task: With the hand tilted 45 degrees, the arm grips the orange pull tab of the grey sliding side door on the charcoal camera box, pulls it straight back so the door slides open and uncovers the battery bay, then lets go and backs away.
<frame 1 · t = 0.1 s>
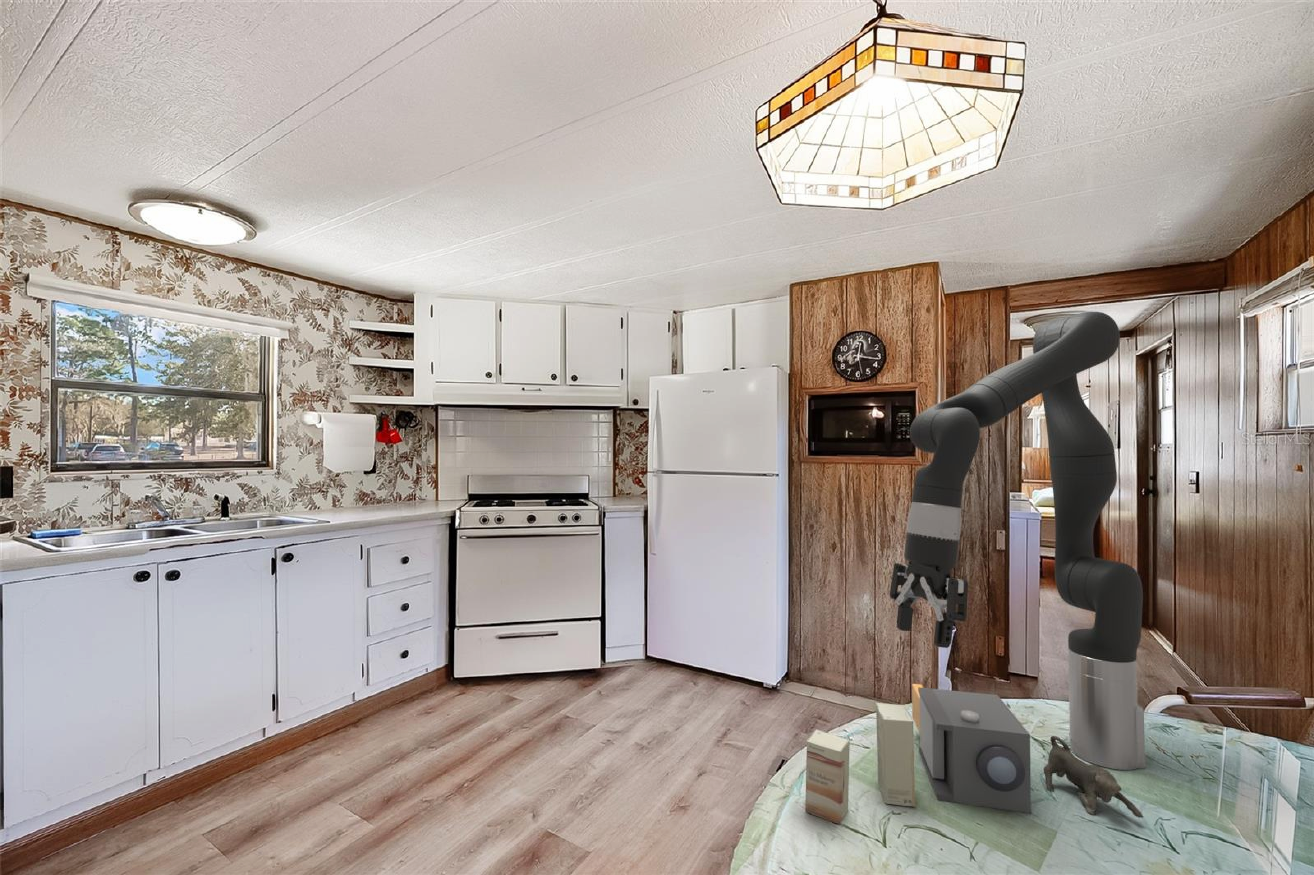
hand: (921, 638, 89), 22 cm above the table, tool pointing down, fingers open, 8 cm apart
skincare box 2: (827, 812, 81), on the table
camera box: (977, 781, 89), on the table
door: (926, 724, 96), point 5 cm above the table, slide at 0.0 cm
skincare box: (895, 795, 86), on the table
dog figurine: (1087, 804, 84), on the table
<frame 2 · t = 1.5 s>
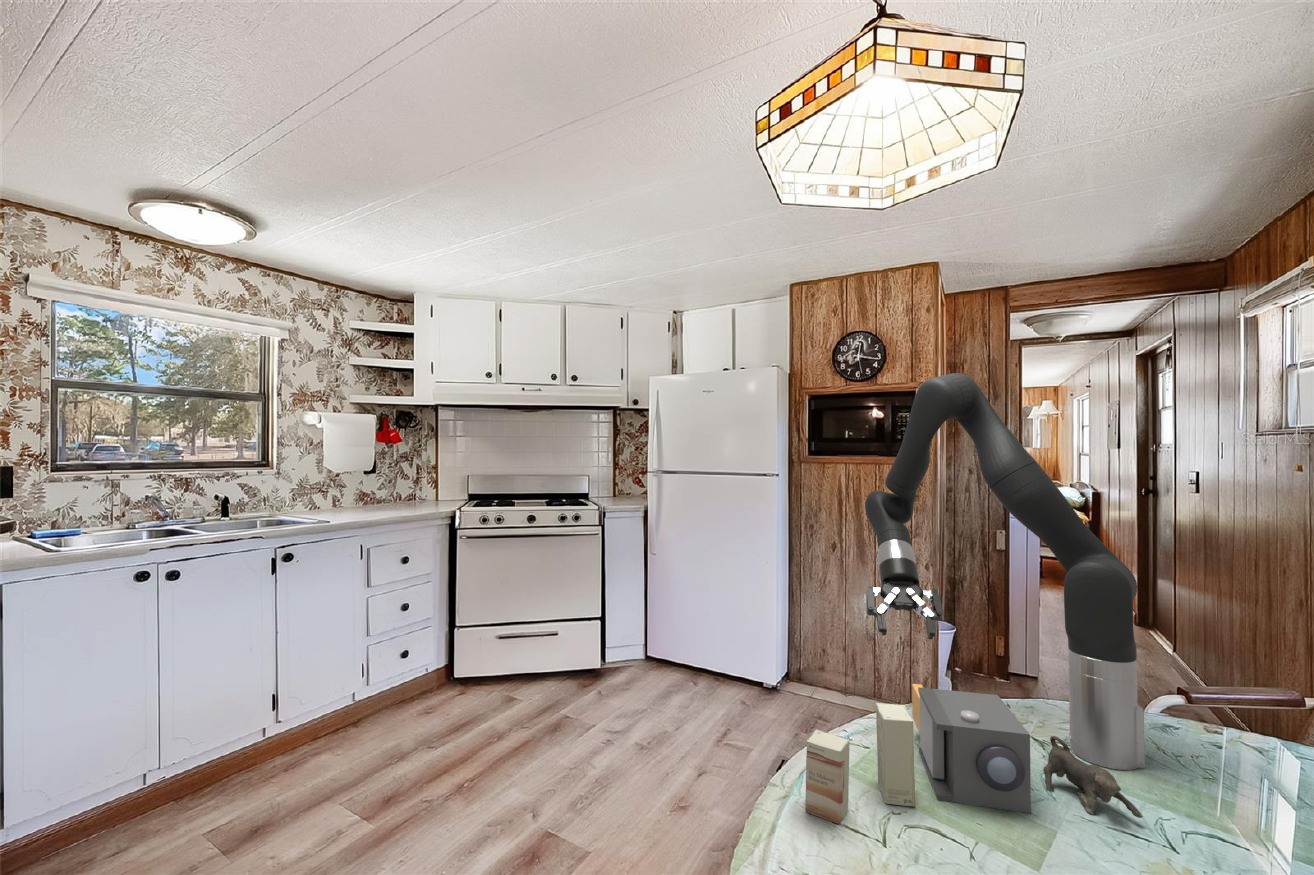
hand: (907, 635, 113), 15 cm above the table, tool tilted 45°, fingers open, 8 cm apart
nothing on the table moved.
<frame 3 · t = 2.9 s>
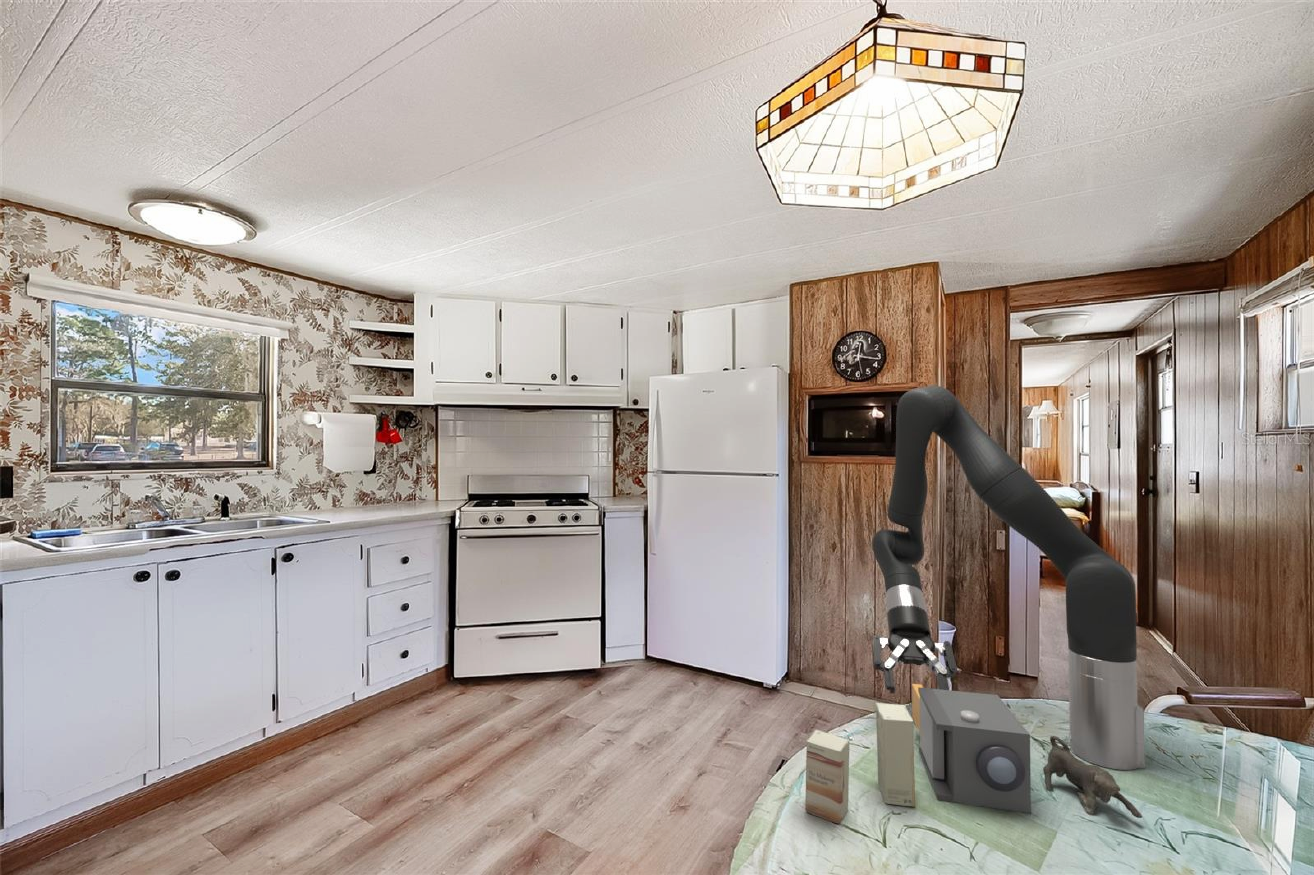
hand: (917, 694, 103), 8 cm above the table, tool tilted 45°, fingers open, 8 cm apart
nothing on the table moved.
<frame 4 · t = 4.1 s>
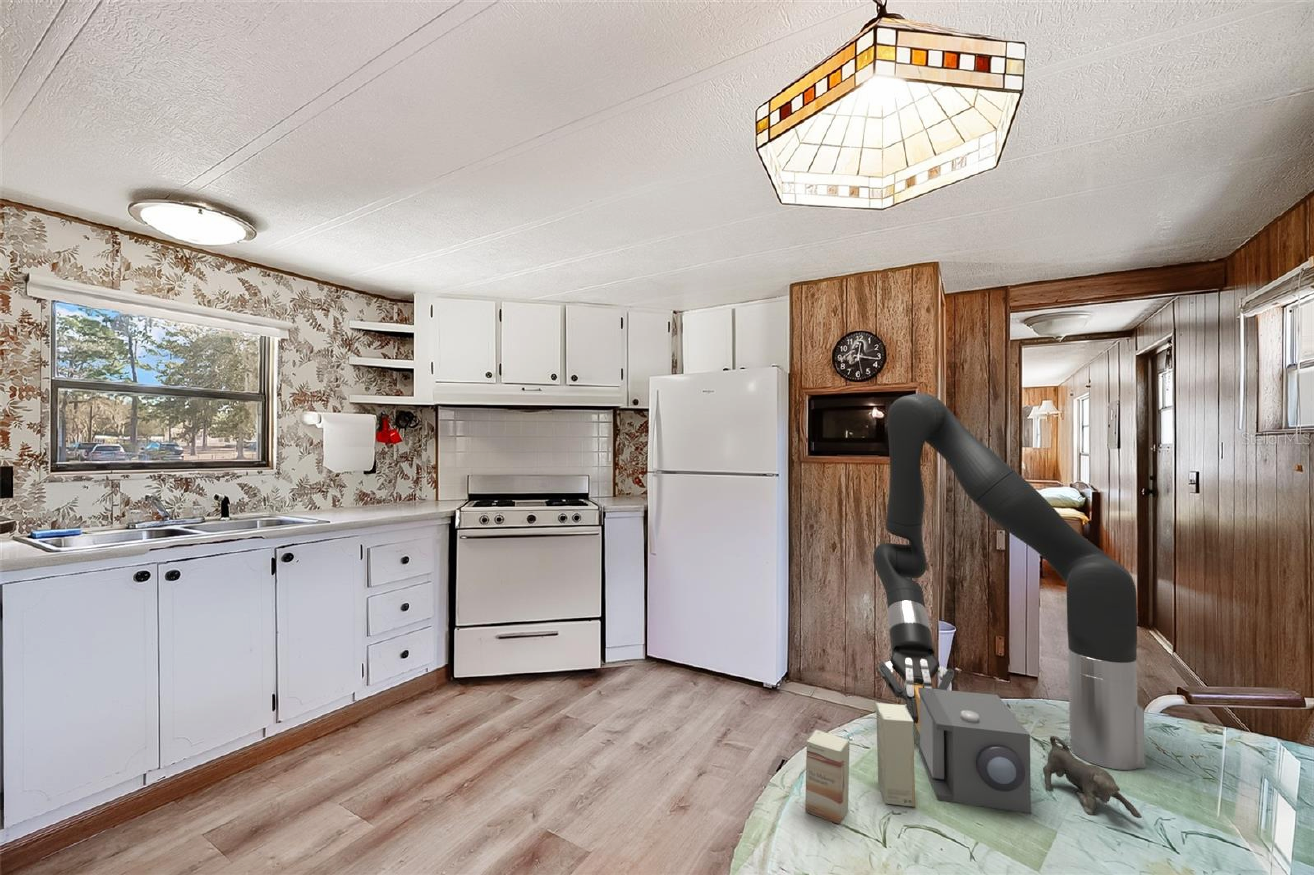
hand: (922, 722, 100), 4 cm above the table, tool tilted 45°, fingers closed, pressing on door
door: (926, 724, 96), point 5 cm above the table, slide at 0.0 cm, touching gripper
everything else where it was.
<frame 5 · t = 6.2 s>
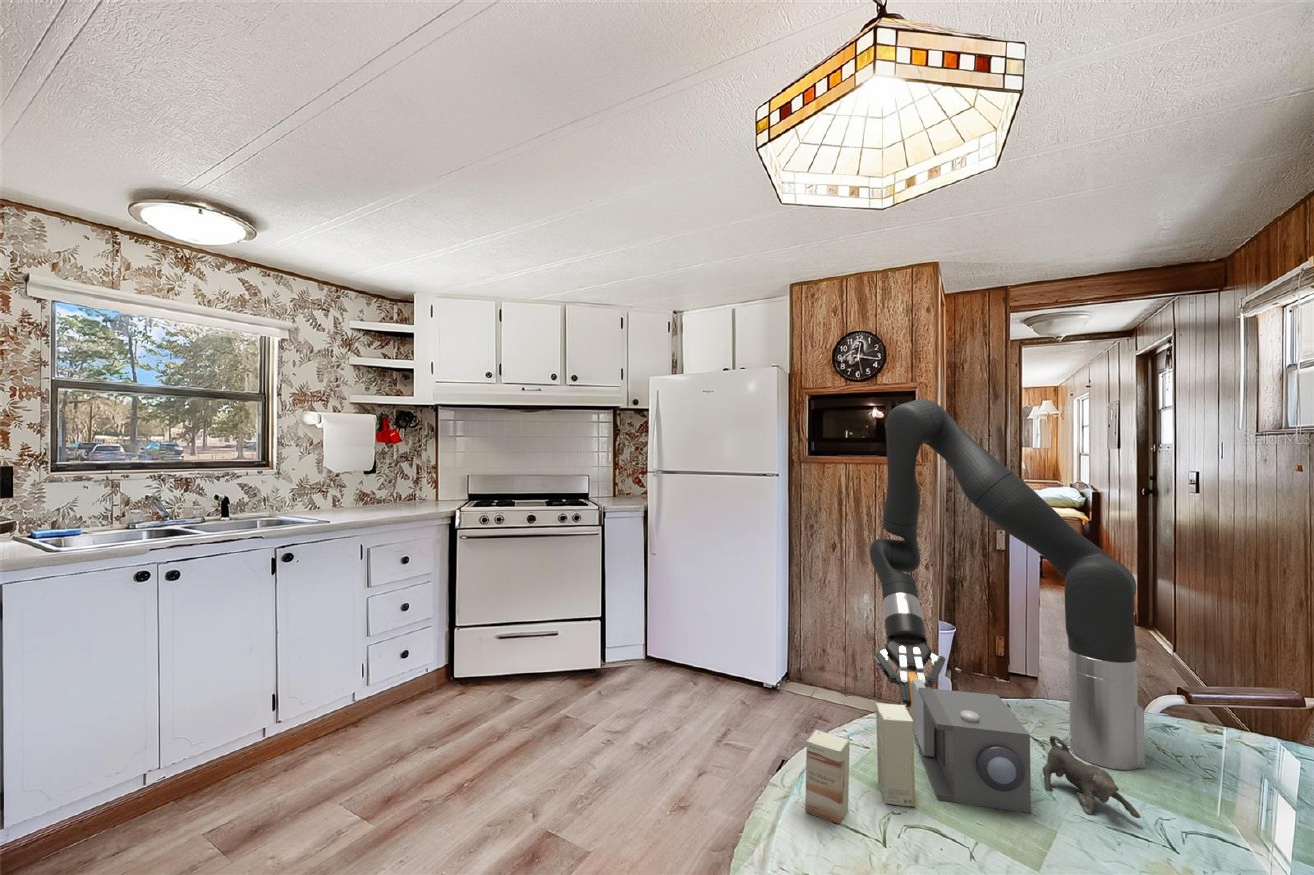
hand: (915, 705, 106), 4 cm above the table, tool tilted 45°, fingers closed on door
door: (918, 707, 103), point 5 cm above the table, slide at 6.9 cm, touching gripper
everything else where it was.
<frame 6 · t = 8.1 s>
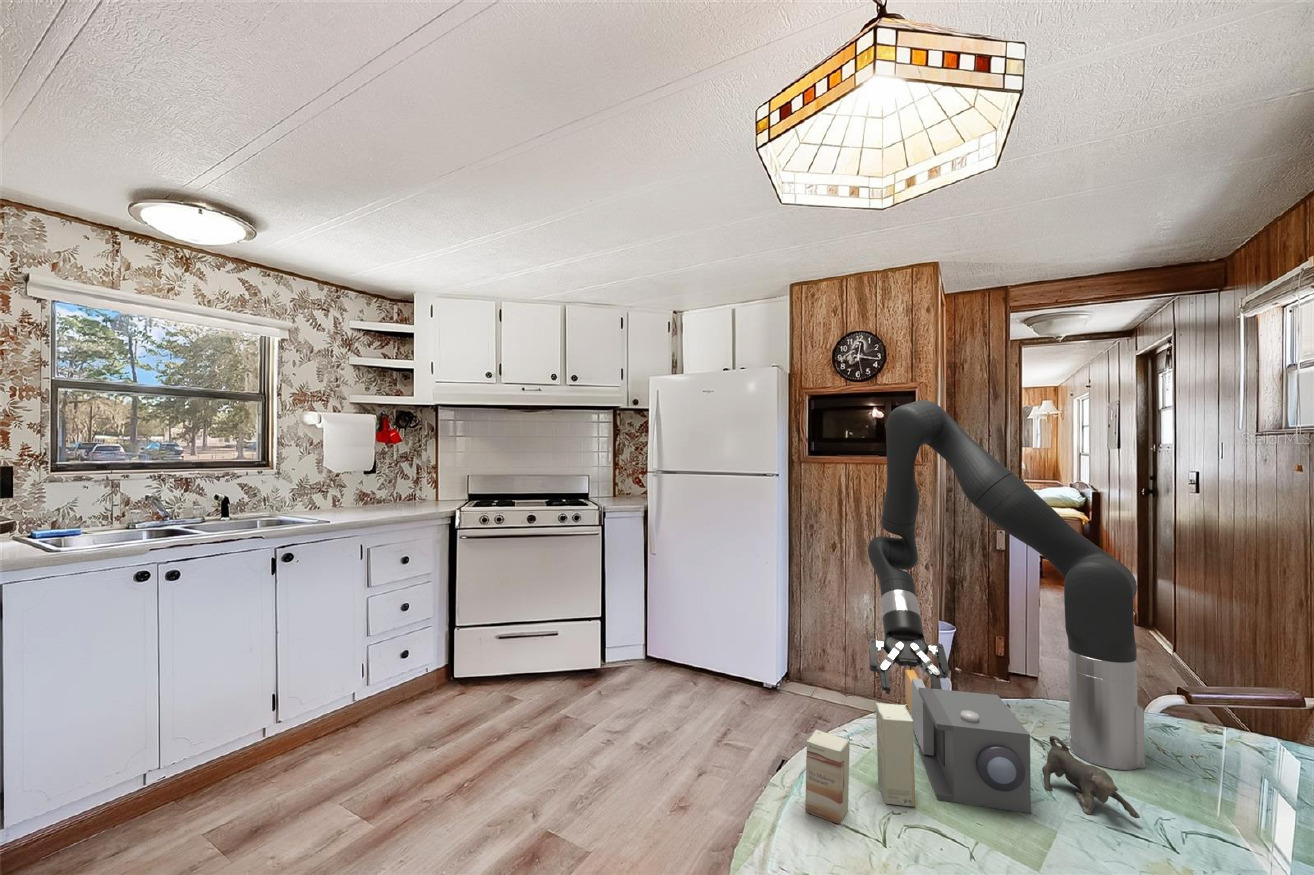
hand: (912, 695, 109), 5 cm above the table, tool tilted 45°, fingers open, 8 cm apart
door: (918, 706, 103), point 5 cm above the table, slide at 7.3 cm
everything else where it was.
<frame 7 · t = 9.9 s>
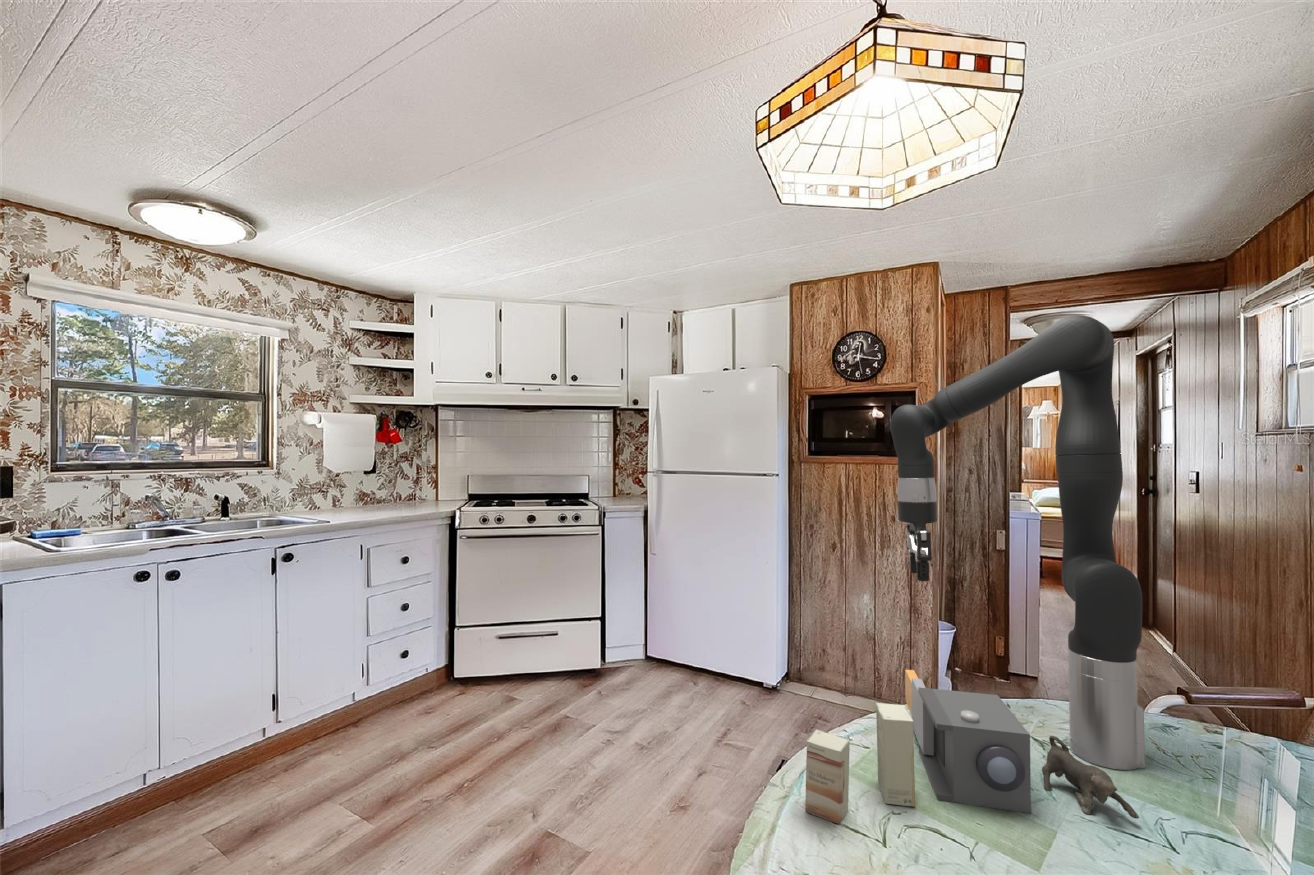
hand: (919, 576, 120), 25 cm above the table, tool pointing down, fingers open, 8 cm apart
nothing on the table moved.
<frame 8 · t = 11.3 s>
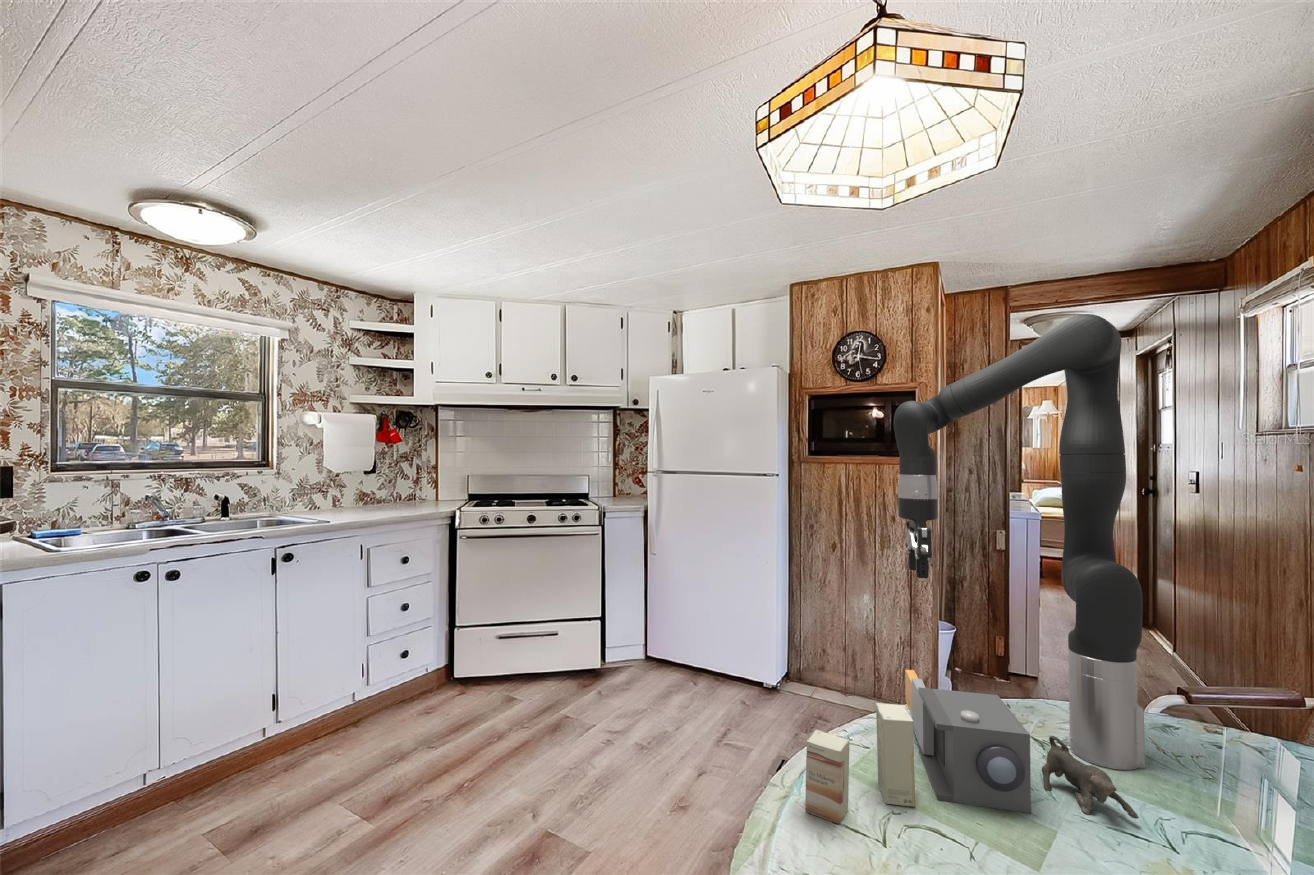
hand: (918, 573, 120), 26 cm above the table, tool pointing down, fingers open, 8 cm apart
nothing on the table moved.
at the end: door slide at 7.3 cm; the gripper is holding nothing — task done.
